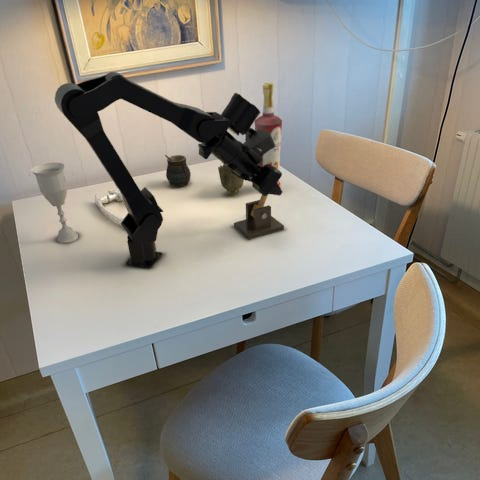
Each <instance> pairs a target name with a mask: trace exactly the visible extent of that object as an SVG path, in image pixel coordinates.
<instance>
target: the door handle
mask: <svg viewBox="0 0 480 480" xmlns="http://www.w3.org/2000/svg"><path fill="white" fill-rule="evenodd" d="M107 193H108V194H107V195H103V196H102V197H101V196H100V195H99V194H98V193H95V198H94V199H95V200H94V201H95V204H96V206H97V207H98V208H99V210H100V211H101V213H102V214H103V215H105V216H106V217H107V218H108V219H109V220H111V221H113V222H115V223H116V224H118V225H119V226H121V222H122V221H123V219H124V218H122V217H121V216H118V215H116V214H114V213H113V212H111V211H109V210H108V209H107V208H106V207H104V205H103V204H107V203H109V202H113V201H116V202H121V201H122V202H124V200H123V197H122V194H121V193H120V191H119V190H118V191H117V190H111V189H109V190H107Z"/></svg>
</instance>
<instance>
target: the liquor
mask: <svg viewBox="0 0 480 480" xmlns="http://www.w3.org/2000/svg"><path fill="white" fill-rule="evenodd" d="M262 95H263V104H262V105H263V106H262V115H259V116H258V117H257V118H256V120H255V121H254V130H255V131H257V132H258V129H260V130H262V129H263V130H265V131H267V132H269V133H270V134H271V136H272V139H273V141H274V143H275V147H274V148H273V149H270V150H269V151H268V152H267V153H265V154H264V155H262V156H260V157H261V158H262V159H263V160H262V161H261V163H260V164H259V163H258V165H260V166H261V167H263V166H264V165H267V164H270V165H272V166H274V167H275V168H277V169H278V170H279V171H280V164H281V163H280V162H281V161H280V160H281V149H282V148H281V147H282V129H283V120H282V119H281V118H280V117H279V116H277V115H275V112H274V100H273V95H274V83H272V82H263V83H262ZM277 183H278V185H279V187H280V186H281V181H280V179H279V180H278V182H277Z"/></svg>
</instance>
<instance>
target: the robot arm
mask: <svg viewBox="0 0 480 480" xmlns="http://www.w3.org/2000/svg"><path fill="white" fill-rule="evenodd" d="M119 100H122V101H125V102H126V103H129V104H131V105H133V106H135V107H138V108H139V109H142V110H144V111H146V112H148V113H151V114H153V115H154V116H157V117H159V118H161V119H163V120H165V121H167V122H170V123H171V124H172V125H174V126H175V127H177V128H178V129H179V130H180V131H182V132H184V133H185V134H187V136H189V137H191V138H192V139H193V140H195V141H196V142H198V144H197V146H198V155H199V156H200V157H202V158H203V159H204V160H208V159H209V157H210V156H211V154H212V155H213V156H214V157H215V158H216V159H218V160H219V161H220V162H221V163H222V165H223V164H224V165H225V168H226V169H227V170H229V171H230V172H231V173H233V174H234V175H236V176H237V177H239V178H240V179H243V180H244V181H245V182H246V181H247V182H250V183H251V186H252V188H253V189H254V190H255V191H257V192H258V193H259V194H261V195H264V196H267V195H268V196H269V195H274V196H281V195H282V194H283V190H282V188H281V187H280V186H279V185H278V183H277V182H278V180H279V181H280V180H281V178H282V176H283V173H282V172H281V171H280V169H279V170H278V169H277V168H275V167H274V166H272V165H270V164H267V165H264V166H263V167H261V166H260V165H258V163H259V164H260V163H261V161H262V160H263V159H262V158H261V157H260V156H262V155H264V154H265V153H267V152H268V151H269V150H270V149H273V148H274V147H275V143H274V141H273V139H272V136H271V134H270V133H269V132H267V131H265V130H263V129H262V130H260V129H258V132H257V131H255V128H252V126H253V125H254V124H255V120H256V119H257V118H258V117H260V114H261V110H260V109H259V108H258V106H256V105H255V104H254V103H251V102H250V101H248V100H247V99H246V98H244V97H243V96H242V95H241V94H240V93H238V92H234V93H233V95H232V97H231V98H230V100H229V102H228V103H227V105H226V106H225V108H224V109H223V111H222V112H221V114H220V113H219V112H217V111H204V110H202V109H201V108H199V107H195V106H193V105H187V104H184V103H179V102H175V101H173V100H170V99H168V98H166V97H165V96H162V95H160V94H158V93H156V92H154V91H152V90H151V89H148V88H146V87H144V86H142V85H140V84H138V83H136V82H134V81H132V80H131V79H129V78H127V77H126V76H124V75H123V74H121V73H120V72H117V71H110V72H108V73H106V74H104V75H101V76H97V77H93V78H89V79H86V80H83V81H81V82H78V83H73V82H66V83H63V84H61V85H60V86H59V87H57V88H56V91H55V95H54V102H55V105H56V108H57V109H58V110H59V112H61V113H62V114H63V116H64V117H65V118H66V119H67V120H68V122H70V124H71V125H72V126H73V127H74V128H75V129H76V131H77V132H79V134H80V135H81V136H82V137H83V138H84V139H85V140H86V142H87V143H88V145H89V146H90V148H91V149H92V152H94V154H95V156H96V158H97V159H98V160H99V162H100V163H101V165H102V167H103V168H104V170H105V171H106V173H107V174H108V175H109V177H110V178H111V180H112V182H113V183H114V185H115V187H116V188H117V190H118V192H120V193H121V194H122V197H123V200H124V201H123V203H124V206H125V208H126V212H127V214H126V215H125V216H124V218H123V221H122V222H121V225H120V226H121V227H122V229H123V231H125V233H126V234H127V235H126V236H127V237H126V239H127V240H126V242H127V247H128V253H129V258H128V259H127V260H126V261H125V265H127V266H131V267H132V266H133V267H138V268H139V267H140V268H147V269H152V268H153V267H154V265H155V264H156V263H158V261H159V260H160V258H161V257H162V256H163V252H162V251H157V246H156V241H157V236H158V232H159V229H160V228H161V227H162V226H163V225H162V224H163V222H164V217H163V214H162V213H164V210H163V209H162V208H161V207H160V206H159V204H158V202H157V200H156V197H155V196H154V194H153V193H152V192H151V191H149V189H148V188H147V187H146V186H144V187H143V188H142V189H140V187H139V186H138V185H137V183H136V182H135V179H134V178H133V176H132V174H131V173H130V171H129V169H128V168H127V167H126V165H125V163H124V161H123V160H122V157H120V155H119V153H118V152H117V150H116V149H115V146H114V145H113V143H112V142H111V141H110V139H109V137H108V136H107V134H106V132H105V130H104V127H103V123H102V120H101V117H100V115H99V112H100V111H103V110H105V109H106V108H108V107H109V106H110V105H112V104H114V103H115V102H117V101H119ZM228 130H229V131H230V132H231V133H233V134H234V135H236V136H237V137H239V136H240V135H241V136H244V135H245V138H244V140H245V141H244V142H242V141H240V140H238V139H237V138H236V137H234V135H232V134H231V133H230V132H229V131H228ZM268 196H267V197H268Z"/></svg>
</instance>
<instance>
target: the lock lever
mask: <svg viewBox="0 0 480 480" xmlns="http://www.w3.org/2000/svg"><path fill="white" fill-rule="evenodd" d="M268 196H269V194H268V195H267V196H264V195H262V194H261V195H260V198H259V200H260V201H259V203H258V205H257V204H254V206H253V209H257V208H260V207H264V206H265V204H266V201H267V199H268ZM253 209H252V212H251V215H252V216H253Z"/></svg>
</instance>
